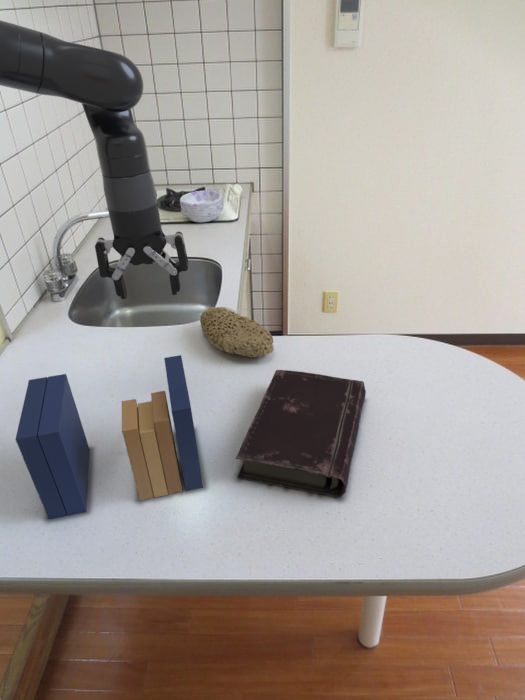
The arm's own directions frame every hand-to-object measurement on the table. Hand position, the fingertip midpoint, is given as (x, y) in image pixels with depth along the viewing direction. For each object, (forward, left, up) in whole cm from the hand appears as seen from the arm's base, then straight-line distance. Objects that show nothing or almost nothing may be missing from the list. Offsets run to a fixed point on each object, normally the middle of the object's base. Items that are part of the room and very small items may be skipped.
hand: (149, 295), depth 89 cm
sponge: (+17, +18, -25) cm, 35 cm away
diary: (+23, -15, -25) cm, 37 cm away
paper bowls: (+21, +103, -25) cm, 108 cm away
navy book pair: (-18, -15, -25) cm, 34 cm away
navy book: (+2, -15, -25) cm, 29 cm away
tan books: (-3, -19, -25) cm, 31 cm away
